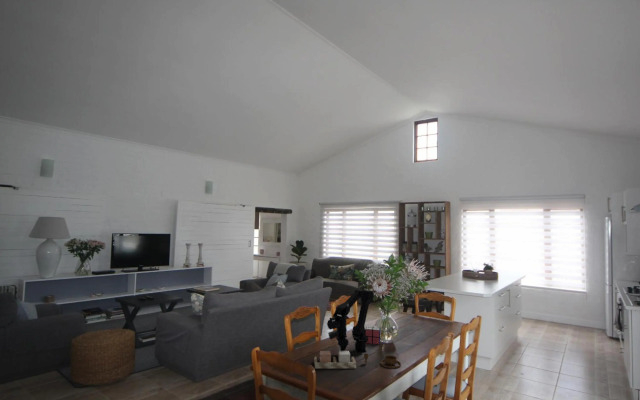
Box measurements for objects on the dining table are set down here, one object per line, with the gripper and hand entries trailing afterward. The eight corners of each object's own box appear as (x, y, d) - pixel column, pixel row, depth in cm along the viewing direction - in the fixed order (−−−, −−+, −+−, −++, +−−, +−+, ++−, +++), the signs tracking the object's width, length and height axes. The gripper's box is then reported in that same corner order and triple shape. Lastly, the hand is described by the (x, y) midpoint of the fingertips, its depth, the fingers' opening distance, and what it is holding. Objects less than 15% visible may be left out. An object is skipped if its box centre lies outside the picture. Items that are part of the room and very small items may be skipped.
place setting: (394, 373, 202) (394, 362, 203) (362, 364, 213) (362, 354, 214) (405, 363, 216) (405, 353, 217) (375, 356, 228) (375, 347, 228)
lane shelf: (353, 361, 216) (353, 356, 217) (356, 368, 206) (356, 362, 206) (314, 361, 215) (314, 356, 215) (315, 368, 205) (315, 363, 205)
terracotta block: (329, 363, 214) (330, 350, 214) (330, 366, 208) (331, 354, 208) (319, 363, 213) (320, 350, 214) (320, 366, 207) (320, 354, 208)
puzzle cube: (379, 344, 250) (379, 330, 250) (365, 343, 252) (365, 329, 252) (380, 340, 259) (380, 326, 260) (366, 339, 261) (366, 325, 262)
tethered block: (345, 355, 227) (345, 342, 228) (349, 366, 208) (350, 352, 209) (336, 355, 227) (336, 342, 227) (339, 366, 208) (339, 352, 209)
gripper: (327, 322, 235) (327, 347, 234) (330, 330, 217) (330, 357, 216) (344, 322, 236) (344, 347, 235) (348, 330, 218) (348, 357, 216)
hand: (341, 352), depth 225 cm, fingers open, 7 cm apart
